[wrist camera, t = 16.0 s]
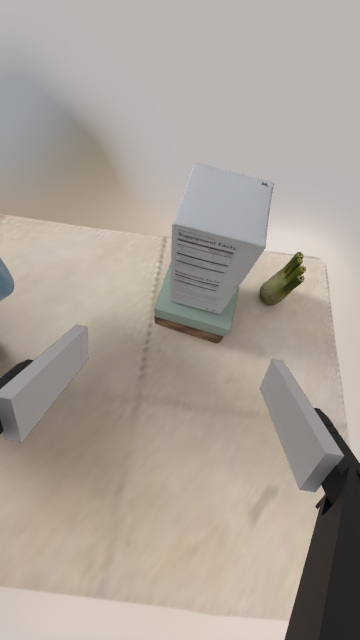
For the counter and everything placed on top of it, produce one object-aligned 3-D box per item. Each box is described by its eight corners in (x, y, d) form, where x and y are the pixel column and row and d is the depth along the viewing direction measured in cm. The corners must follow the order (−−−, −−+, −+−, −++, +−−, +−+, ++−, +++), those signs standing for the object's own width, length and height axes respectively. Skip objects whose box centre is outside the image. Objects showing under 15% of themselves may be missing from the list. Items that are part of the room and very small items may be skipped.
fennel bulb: (271, 312, 44) (307, 284, 33) (251, 299, 45) (279, 267, 33) (283, 292, 46) (321, 259, 34) (264, 280, 46) (294, 244, 35)
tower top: (155, 316, 39) (154, 308, 35) (175, 260, 43) (176, 247, 39) (223, 336, 38) (229, 330, 34) (237, 277, 42) (243, 265, 39)
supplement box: (181, 256, 38) (193, 158, 23) (230, 269, 38) (276, 178, 22) (167, 302, 35) (170, 223, 19) (221, 316, 35) (268, 247, 19)
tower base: (155, 324, 42) (154, 317, 38) (175, 272, 47) (176, 261, 43) (217, 344, 42) (222, 339, 38) (231, 289, 46) (237, 279, 42)
